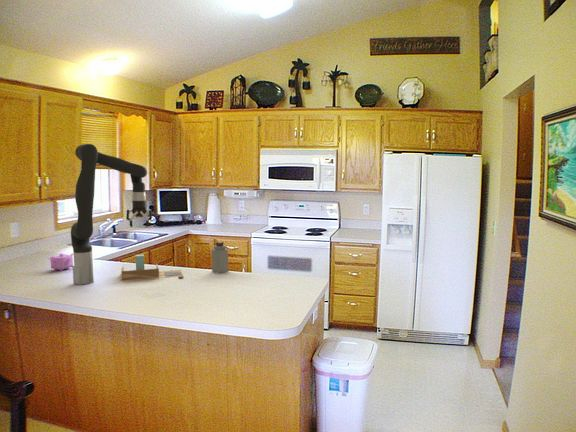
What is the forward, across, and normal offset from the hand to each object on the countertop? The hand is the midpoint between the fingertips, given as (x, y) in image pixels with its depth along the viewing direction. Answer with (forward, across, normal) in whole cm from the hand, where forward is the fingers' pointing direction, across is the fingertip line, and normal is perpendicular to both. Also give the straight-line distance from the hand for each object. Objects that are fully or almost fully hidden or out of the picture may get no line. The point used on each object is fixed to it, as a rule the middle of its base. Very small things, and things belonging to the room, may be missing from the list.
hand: (139, 227), depth 264 cm
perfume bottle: (+27, +47, -10) cm, 55 cm away
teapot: (+28, -46, +20) cm, 58 cm away
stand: (+27, +7, -14) cm, 32 cm away
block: (+26, +1, -15) cm, 30 cm away
